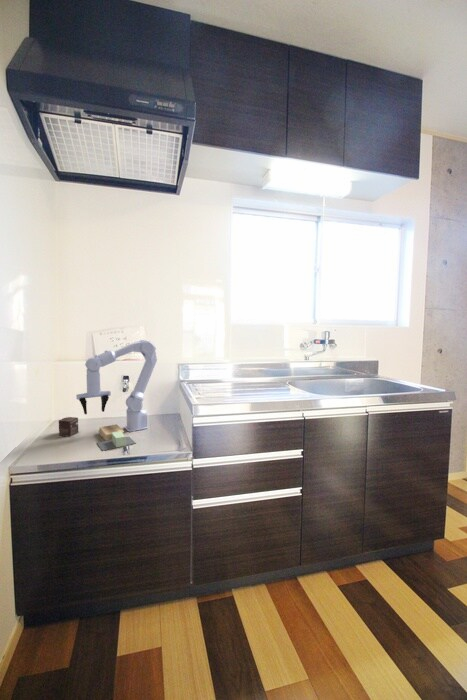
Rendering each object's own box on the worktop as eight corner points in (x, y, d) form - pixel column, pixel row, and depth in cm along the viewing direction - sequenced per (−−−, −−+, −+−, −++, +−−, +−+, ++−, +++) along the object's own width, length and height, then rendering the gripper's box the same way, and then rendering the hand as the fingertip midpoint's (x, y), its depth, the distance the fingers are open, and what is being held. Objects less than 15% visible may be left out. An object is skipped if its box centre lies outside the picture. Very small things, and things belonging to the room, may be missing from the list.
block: (120, 430, 148) (125, 436, 141) (121, 439, 149) (125, 445, 142) (111, 432, 146) (116, 438, 139) (111, 441, 146) (116, 447, 140)
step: (116, 430, 162) (116, 424, 161) (124, 437, 152) (124, 431, 151) (99, 433, 157) (99, 427, 157) (106, 441, 147) (105, 434, 147)
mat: (129, 437, 152) (129, 436, 152) (136, 443, 145) (136, 443, 145) (96, 443, 144) (96, 442, 144) (102, 450, 137) (102, 450, 137)
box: (70, 436, 152) (69, 421, 152) (58, 435, 153) (58, 420, 153) (78, 432, 158) (78, 417, 157) (67, 431, 159) (67, 416, 159)
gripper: (78, 387, 146) (79, 417, 147) (112, 383, 154) (112, 412, 156) (75, 384, 152) (76, 413, 153) (108, 381, 160) (108, 408, 161)
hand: (94, 412), depth 155 cm, fingers open, 7 cm apart
